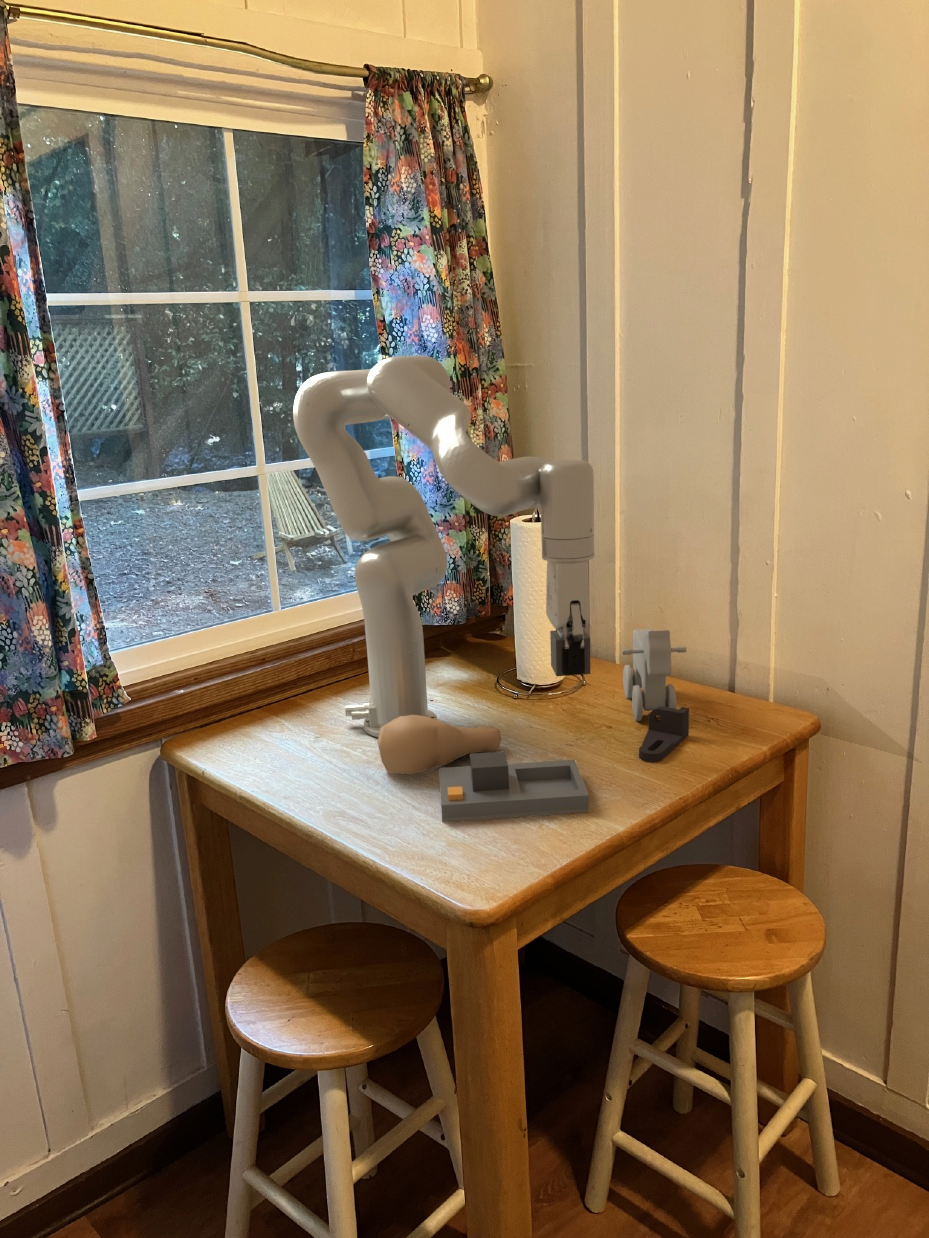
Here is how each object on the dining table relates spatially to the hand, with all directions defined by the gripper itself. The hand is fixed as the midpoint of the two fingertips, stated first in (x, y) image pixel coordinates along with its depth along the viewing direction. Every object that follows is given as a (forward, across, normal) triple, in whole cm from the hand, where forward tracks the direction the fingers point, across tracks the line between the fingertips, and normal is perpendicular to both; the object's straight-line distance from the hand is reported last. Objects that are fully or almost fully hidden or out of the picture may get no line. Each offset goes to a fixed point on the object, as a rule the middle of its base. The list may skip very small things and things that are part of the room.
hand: (570, 666), depth 143 cm
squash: (+16, -4, -20) cm, 26 cm away
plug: (+1, 0, 0) cm, 1 cm away
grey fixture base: (+15, +10, -11) cm, 21 cm away
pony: (+16, -19, +17) cm, 30 cm away
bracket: (+16, -4, +14) cm, 22 cm away
